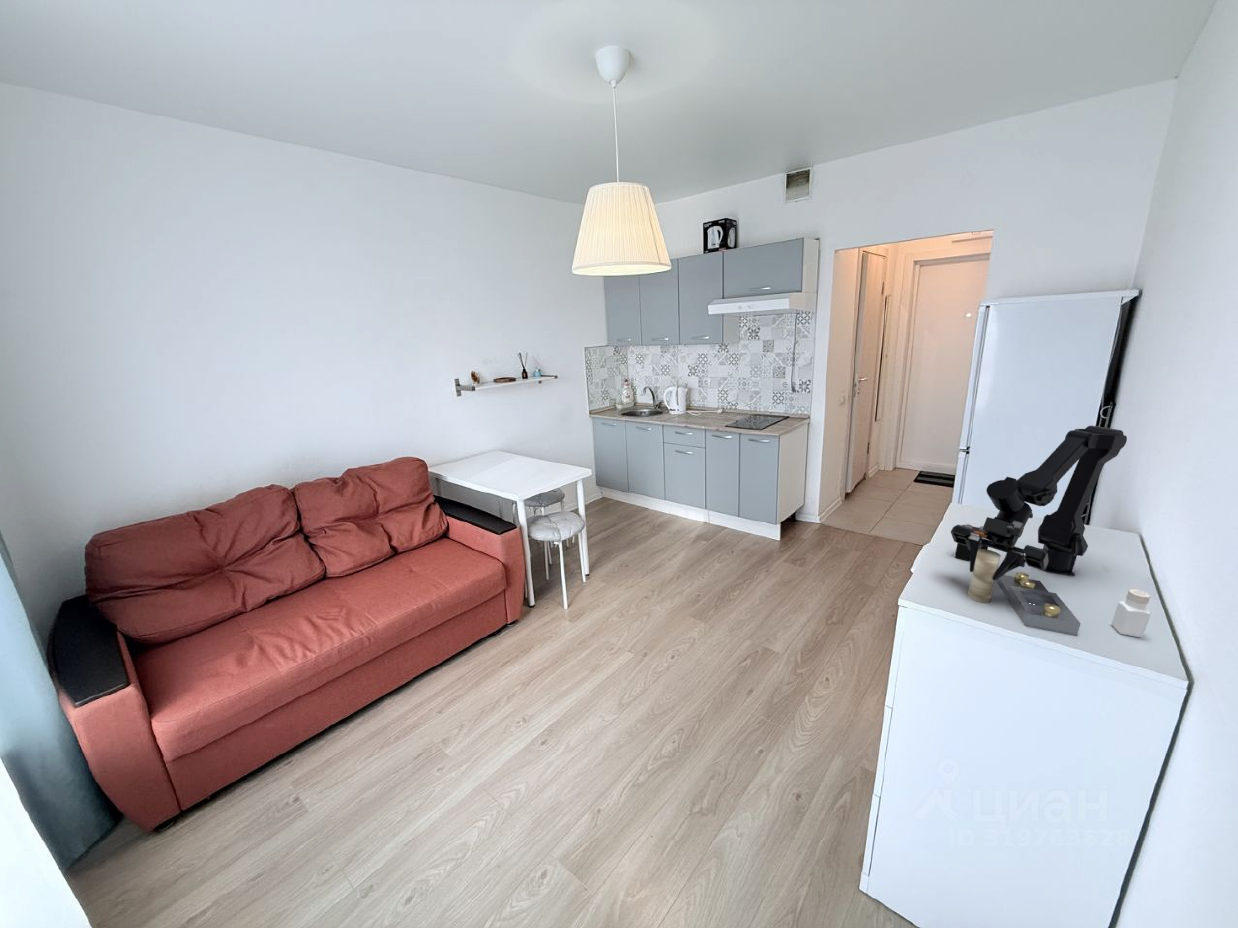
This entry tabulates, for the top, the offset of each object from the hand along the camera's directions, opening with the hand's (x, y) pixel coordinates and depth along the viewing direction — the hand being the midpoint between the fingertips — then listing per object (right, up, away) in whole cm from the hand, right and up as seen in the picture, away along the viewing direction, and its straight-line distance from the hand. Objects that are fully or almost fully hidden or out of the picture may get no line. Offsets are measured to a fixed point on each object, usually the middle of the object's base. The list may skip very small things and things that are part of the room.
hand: (982, 575), depth 115 cm
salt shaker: (+24, -10, -10) cm, 28 cm away
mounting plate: (+12, -7, 0) cm, 14 cm away
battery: (+13, -1, +22) cm, 26 cm away
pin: (+1, -6, +3) cm, 7 cm away
